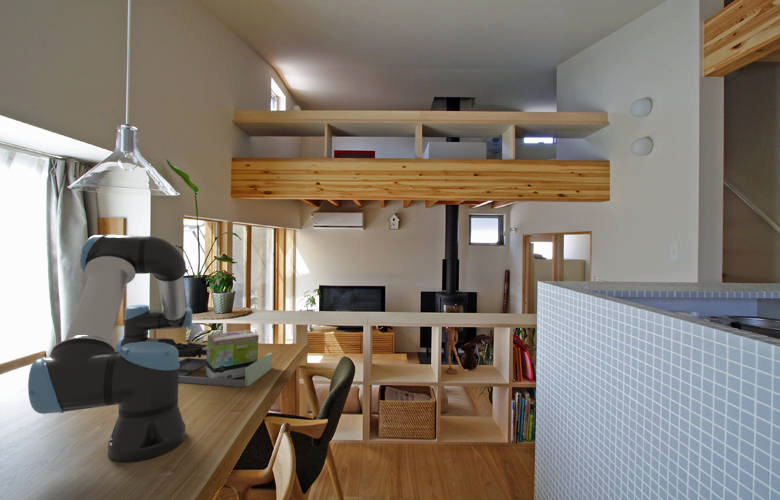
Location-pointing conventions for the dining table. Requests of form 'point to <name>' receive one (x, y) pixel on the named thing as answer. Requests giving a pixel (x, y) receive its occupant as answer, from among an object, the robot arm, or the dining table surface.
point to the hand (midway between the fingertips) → (219, 352)
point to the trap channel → (195, 364)
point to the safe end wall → (258, 369)
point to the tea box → (231, 353)
